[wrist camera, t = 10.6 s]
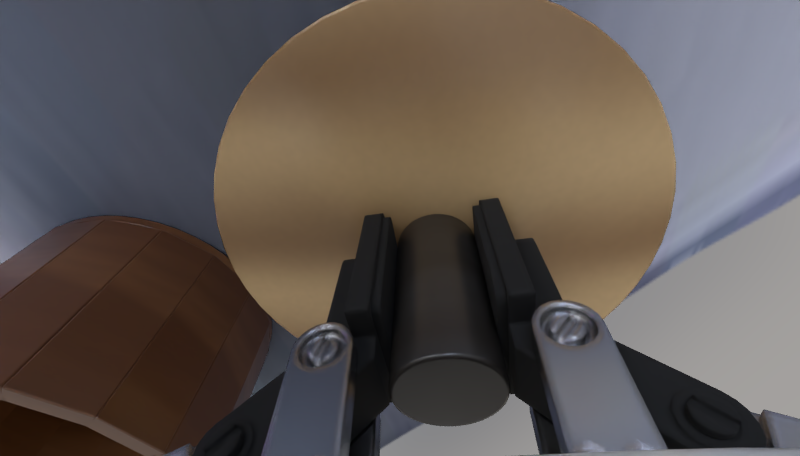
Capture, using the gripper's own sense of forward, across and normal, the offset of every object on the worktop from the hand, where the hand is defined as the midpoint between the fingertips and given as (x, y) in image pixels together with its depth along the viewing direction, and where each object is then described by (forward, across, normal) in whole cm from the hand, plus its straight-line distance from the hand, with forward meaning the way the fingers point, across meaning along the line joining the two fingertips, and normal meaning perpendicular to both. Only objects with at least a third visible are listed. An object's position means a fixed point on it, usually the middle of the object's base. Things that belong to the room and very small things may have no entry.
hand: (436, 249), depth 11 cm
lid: (+1, 0, 0) cm, 1 cm away
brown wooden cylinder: (+5, +16, +6) cm, 18 cm away
